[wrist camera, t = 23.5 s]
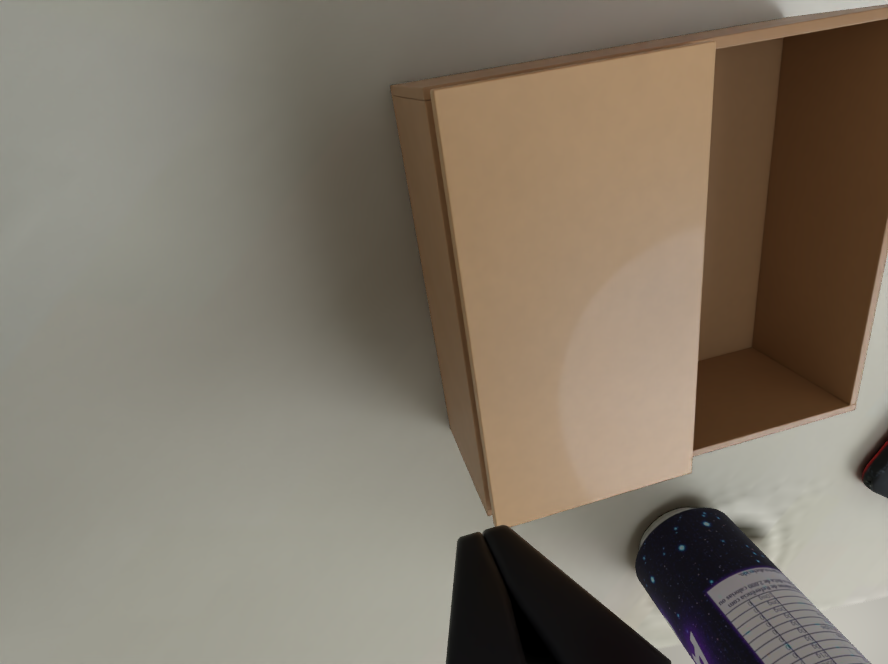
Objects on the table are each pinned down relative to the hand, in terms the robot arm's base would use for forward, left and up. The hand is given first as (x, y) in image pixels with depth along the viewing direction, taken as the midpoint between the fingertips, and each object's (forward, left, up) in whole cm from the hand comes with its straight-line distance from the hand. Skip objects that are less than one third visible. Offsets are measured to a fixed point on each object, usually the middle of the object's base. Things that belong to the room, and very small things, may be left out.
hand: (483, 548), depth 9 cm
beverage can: (-5, -21, -13) cm, 25 cm away
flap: (+3, -4, -7) cm, 9 cm away
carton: (+6, -7, -13) cm, 16 cm away
